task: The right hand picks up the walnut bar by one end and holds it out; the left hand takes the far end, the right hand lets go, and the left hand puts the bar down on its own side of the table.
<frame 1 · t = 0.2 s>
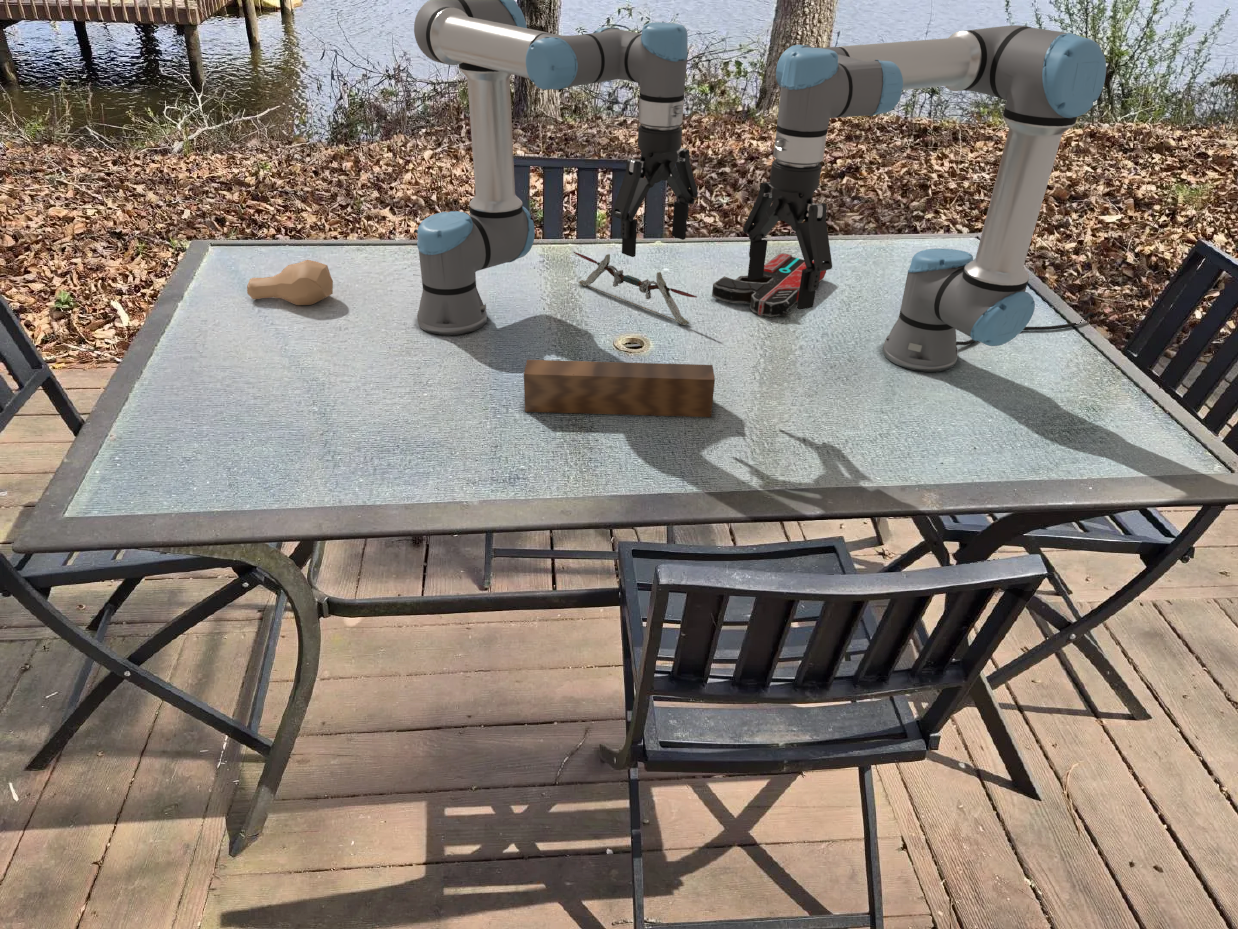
left hand: (654, 246, 161), 28 cm above the table, tool pointing down, fingers open, 13 cm apart
right hand: (779, 292, 145), 28 cm above the table, tool pointing down, fingers open, 13 cm apart
gun: (770, 291, 216), on the table
squash: (293, 300, 205), on the table
bar: (618, 406, 167), on the table
bow: (631, 304, 208), on the table
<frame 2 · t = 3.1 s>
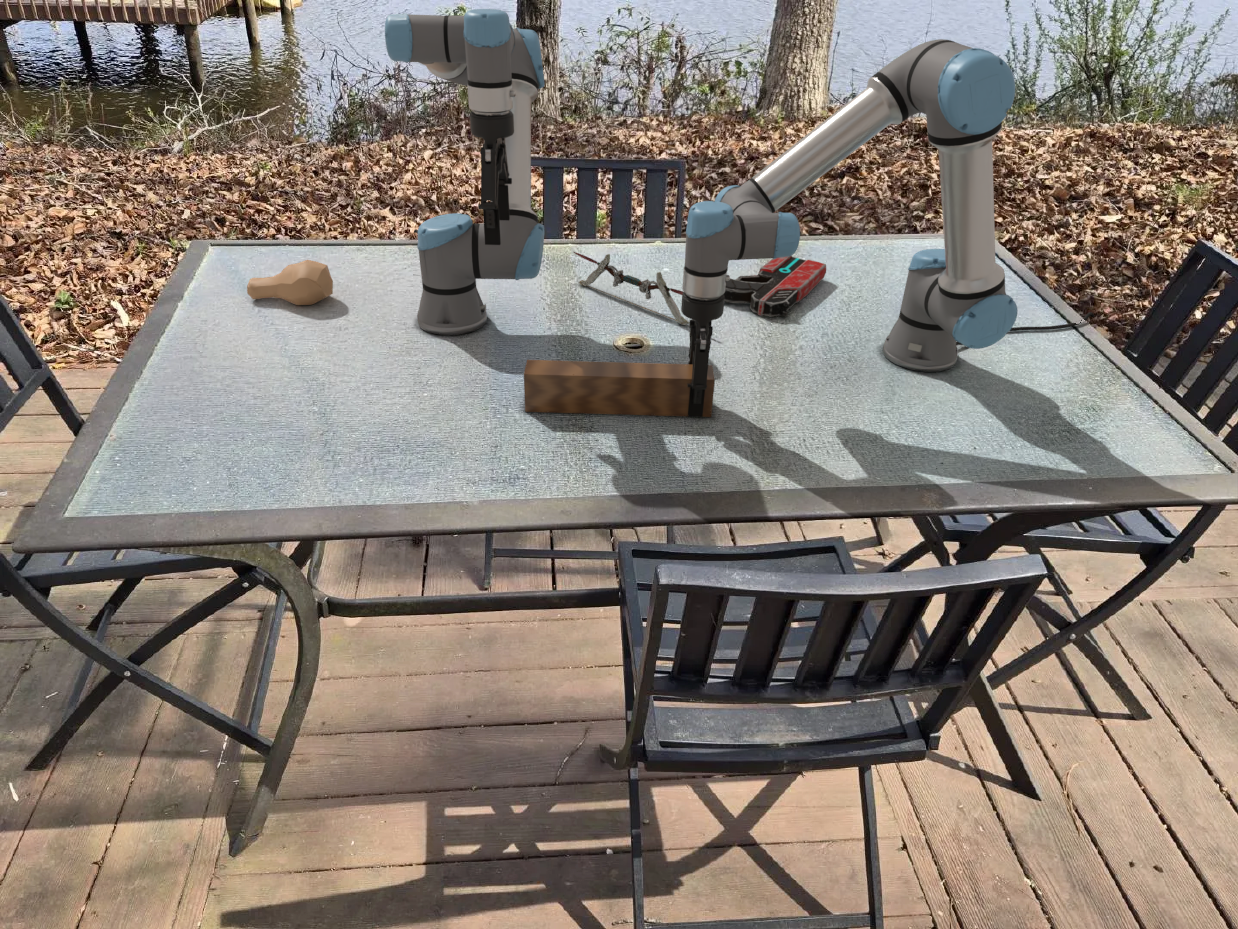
left hand: (497, 231, 163), 29 cm above the table, tool pointing down, fingers open, 13 cm apart
right hand: (694, 406, 167), 0 cm above the table, tool pointing down, fingers closed on bar, 6 cm apart
bar: (618, 406, 167), on the table, touching right hand
everything else where it was.
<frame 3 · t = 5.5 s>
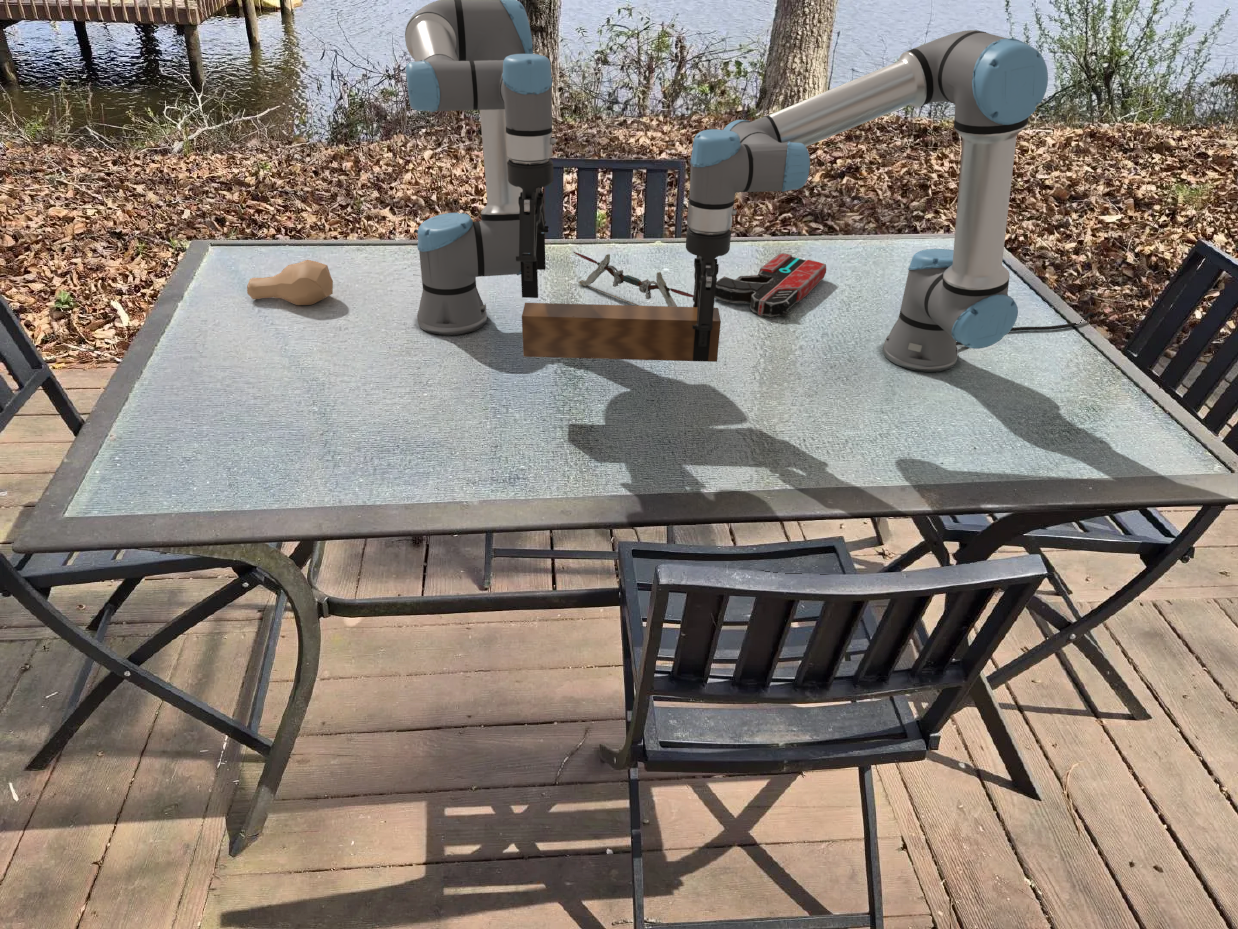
left hand: (534, 282, 155), 24 cm above the table, tool pointing down, fingers open, 13 cm apart
right hand: (699, 351, 161), 12 cm above the table, tool pointing down, fingers closed on bar, 6 cm apart
bar: (620, 352, 161), point 12 cm above the table, touching right hand
everything else where it was.
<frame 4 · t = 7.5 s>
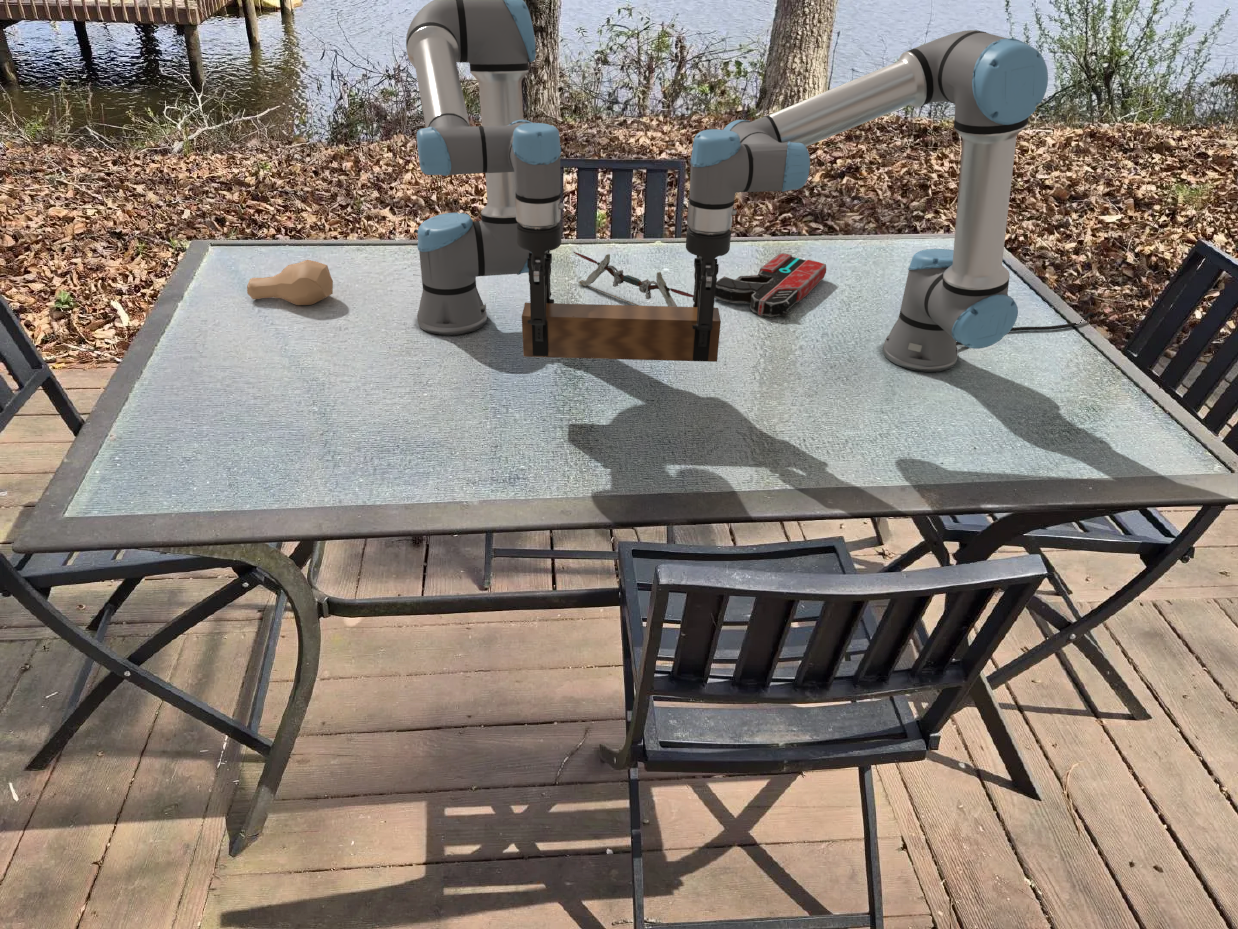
left hand: (542, 346, 160), 12 cm above the table, tool pointing down, fingers closed on bar, 6 cm apart
right hand: (699, 351, 161), 12 cm above the table, tool pointing down, fingers closed on bar, 6 cm apart
bar: (620, 352, 161), point 12 cm above the table, touching left hand, right hand
everything else where it was.
when the right hand's fingers open (12 cm above the table, at t = 8.4 s): bar stays where it is, held by the left hand.
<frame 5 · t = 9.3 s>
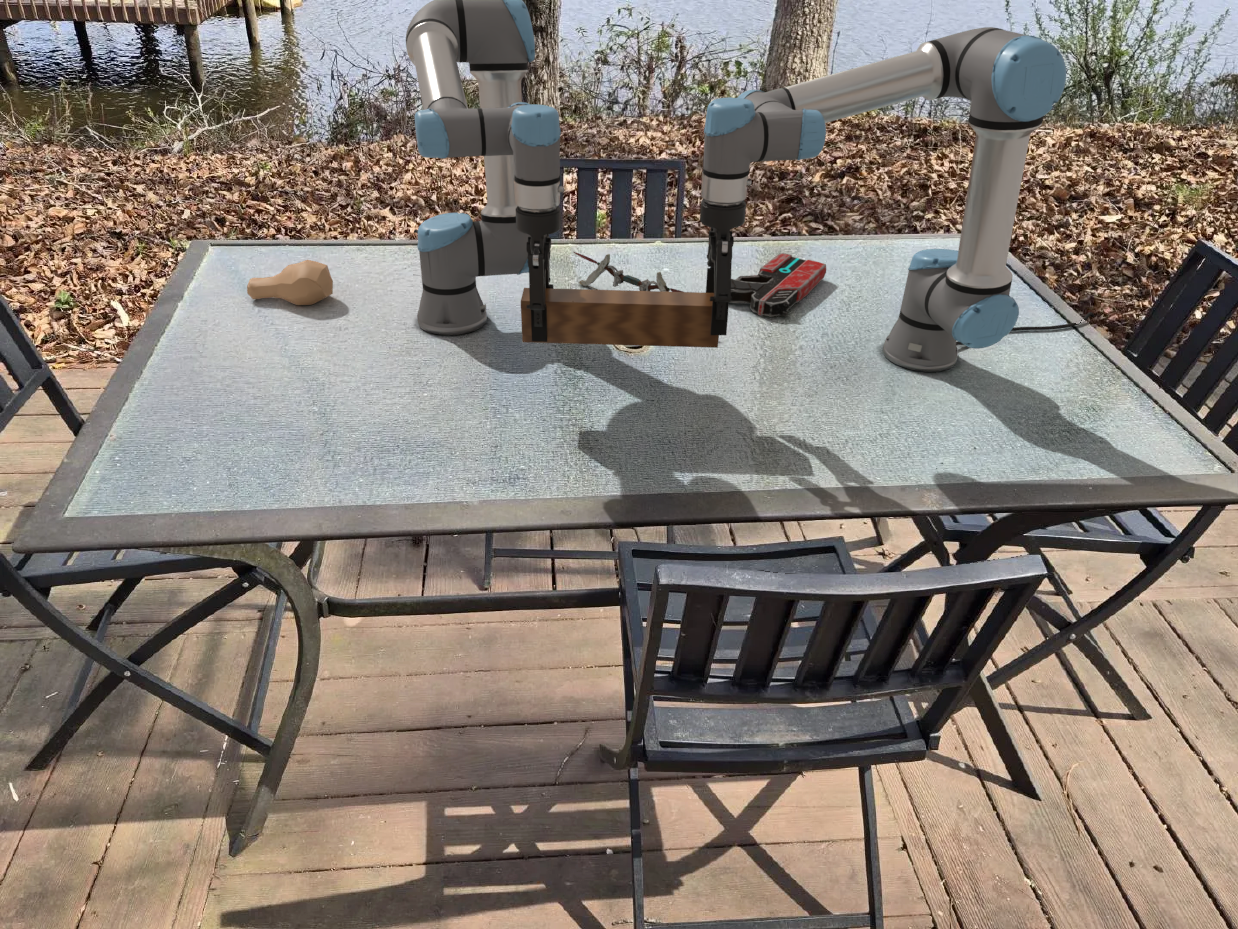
left hand: (541, 332, 159), 15 cm above the table, tool pointing down, fingers closed on bar, 6 cm apart
right hand: (715, 317, 157), 19 cm above the table, tool pointing down, fingers open, 13 cm apart
bar: (620, 337, 159), point 14 cm above the table, touching left hand
everything else where it was.
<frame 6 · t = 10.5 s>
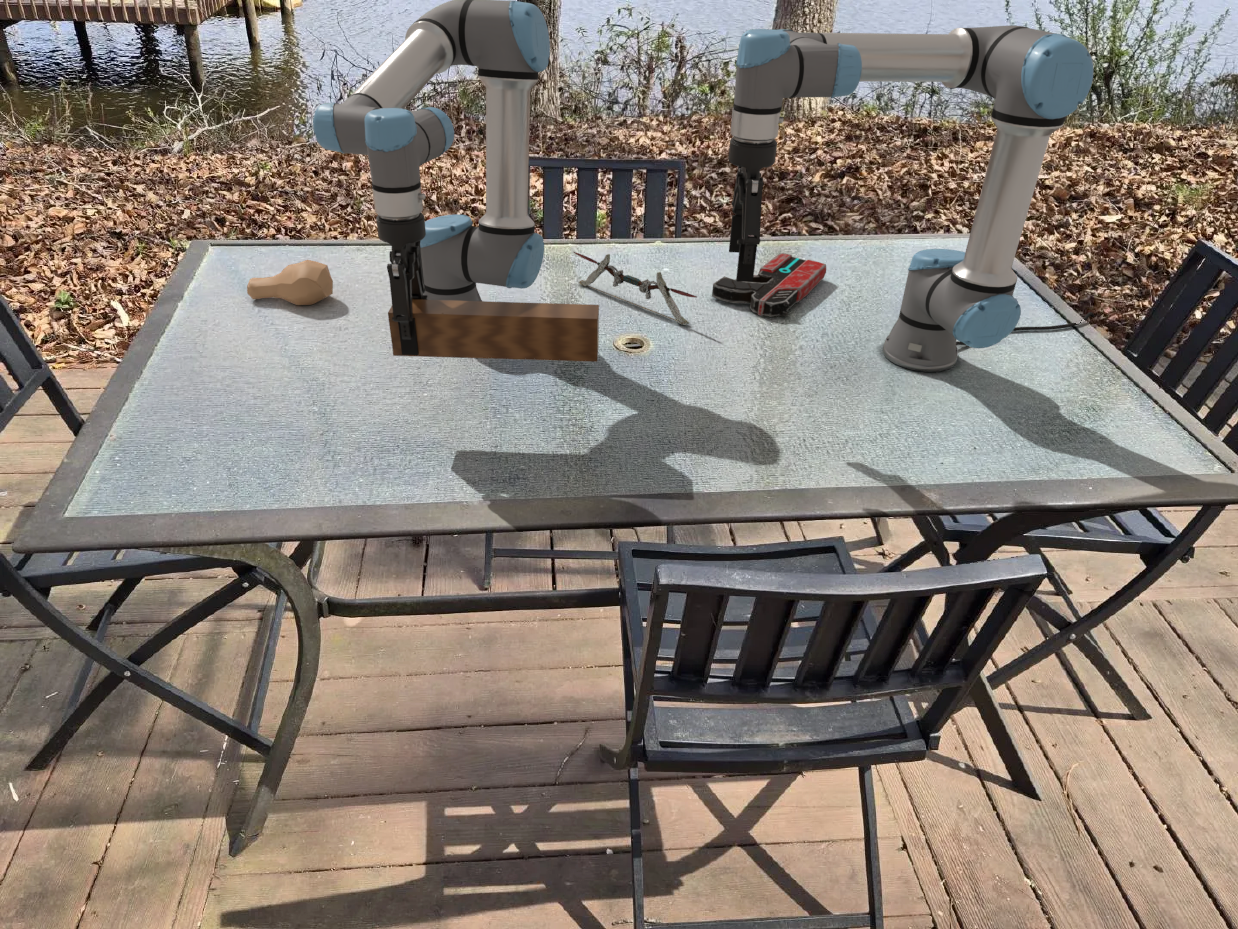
left hand: (414, 345, 152), 15 cm above the table, tool pointing down, fingers closed on bar, 6 cm apart
right hand: (740, 265, 151), 29 cm above the table, tool pointing down, fingers open, 13 cm apart
bar: (497, 351, 153), point 15 cm above the table, touching left hand
everything else where it was.
when the left hand's fingers open (2 cm above the table, at t = 13.4 s): bar drops 2 cm, on the table.
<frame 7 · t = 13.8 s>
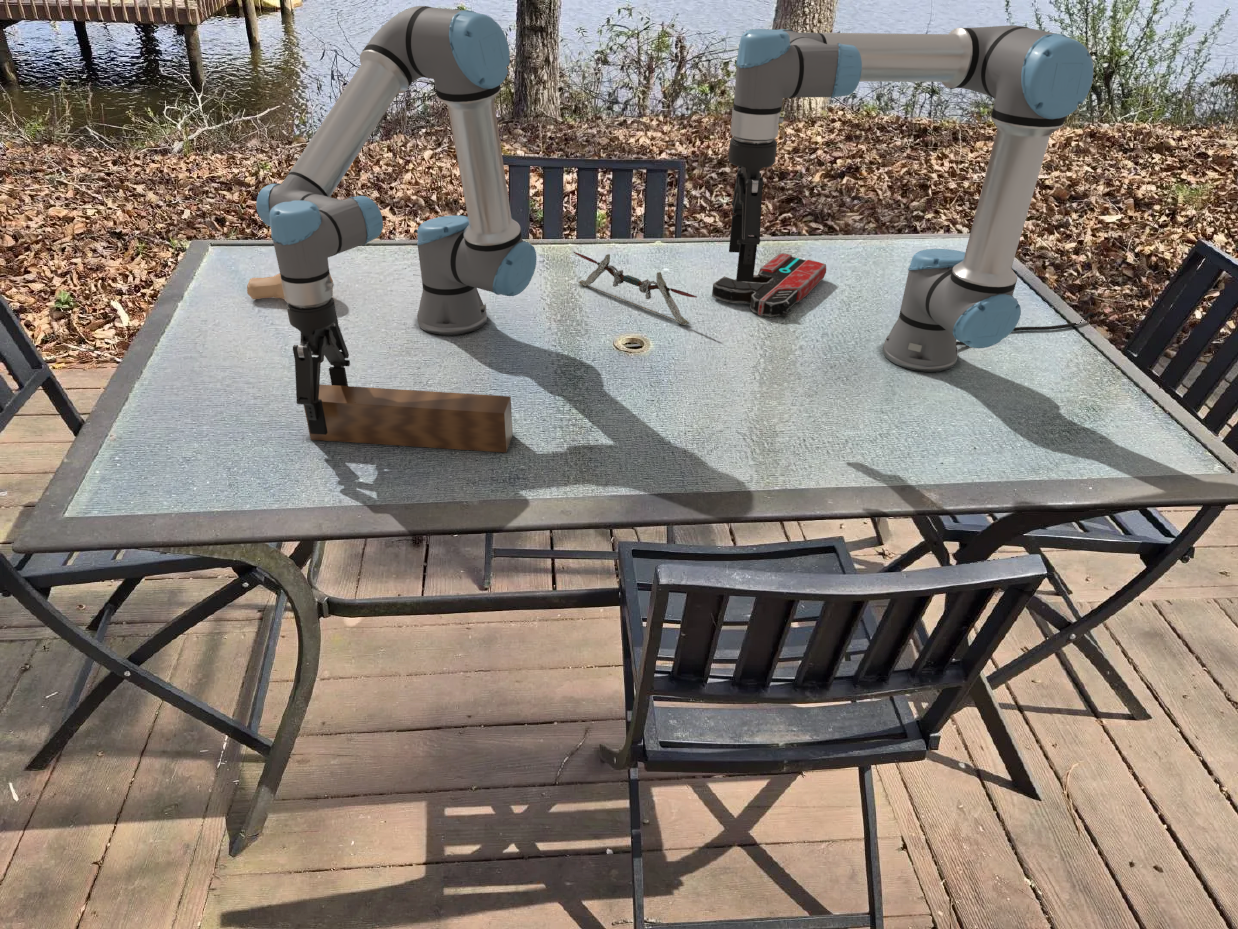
left hand: (331, 416, 155), 3 cm above the table, tool pointing down, fingers open, 11 cm apart
right hand: (740, 265, 151), 29 cm above the table, tool pointing down, fingers open, 13 cm apart
bar: (412, 437, 156), on the table
everything else where it was.
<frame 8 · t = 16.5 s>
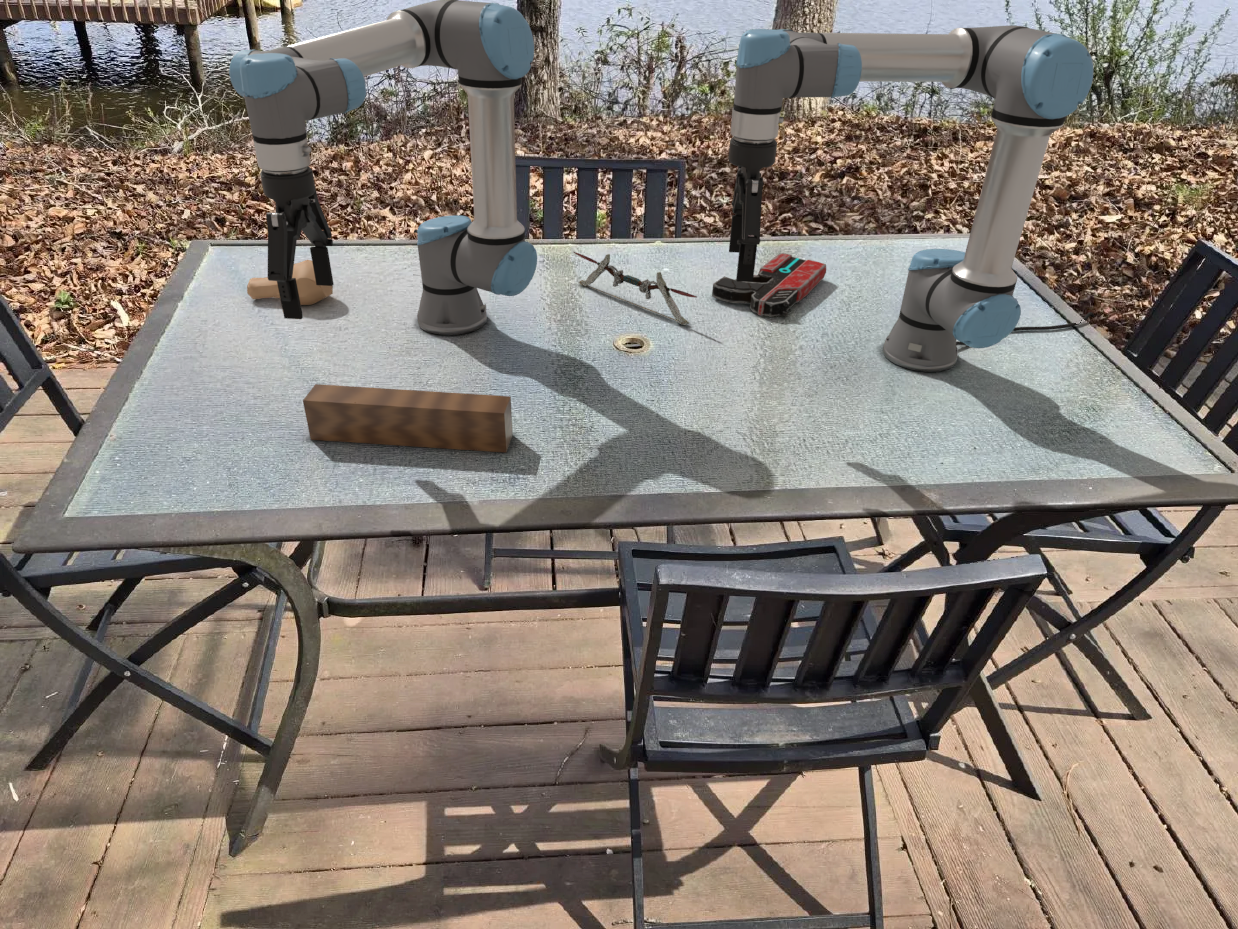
left hand: (310, 300, 143), 25 cm above the table, tool pointing down, fingers open, 13 cm apart
right hand: (740, 265, 151), 29 cm above the table, tool pointing down, fingers open, 13 cm apart
nothing on the table moved.
at the end: bar inside the target area (14.2 cm from its centre), on the table; the left hand is holding nothing; the right hand is holding nothing; bar at rest at the end (0.0 cm/s) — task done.
